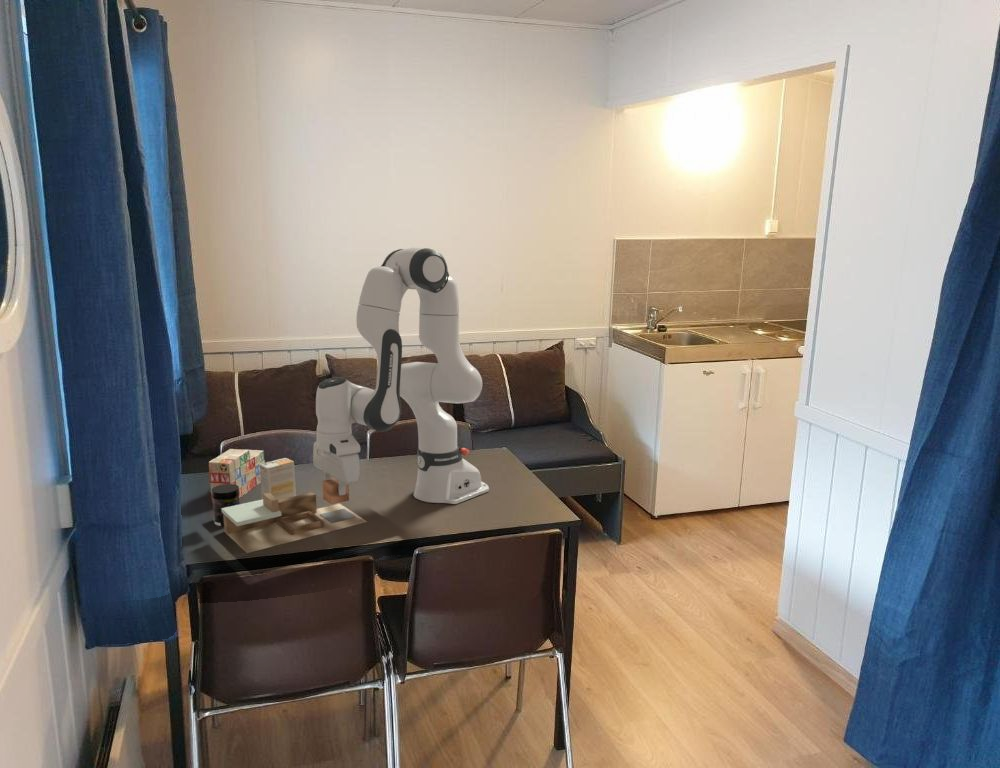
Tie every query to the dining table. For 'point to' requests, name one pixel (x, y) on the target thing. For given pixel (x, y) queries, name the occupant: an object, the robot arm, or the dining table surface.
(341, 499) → the block
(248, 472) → the stack of blocks
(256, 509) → the cover
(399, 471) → the dining table surface
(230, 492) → the supplement container
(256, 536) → the board
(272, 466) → the supplement box
